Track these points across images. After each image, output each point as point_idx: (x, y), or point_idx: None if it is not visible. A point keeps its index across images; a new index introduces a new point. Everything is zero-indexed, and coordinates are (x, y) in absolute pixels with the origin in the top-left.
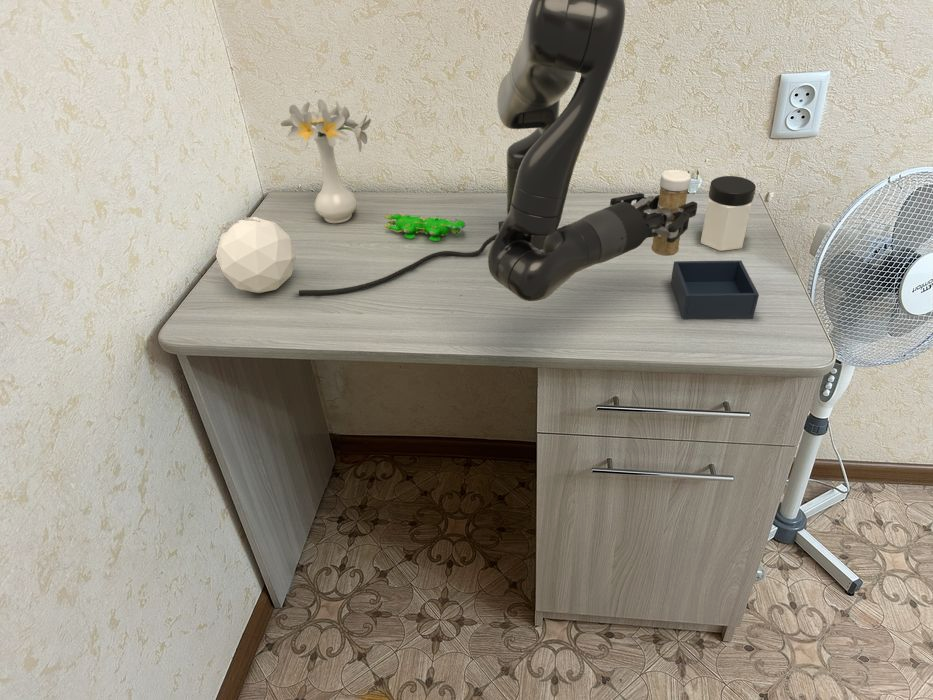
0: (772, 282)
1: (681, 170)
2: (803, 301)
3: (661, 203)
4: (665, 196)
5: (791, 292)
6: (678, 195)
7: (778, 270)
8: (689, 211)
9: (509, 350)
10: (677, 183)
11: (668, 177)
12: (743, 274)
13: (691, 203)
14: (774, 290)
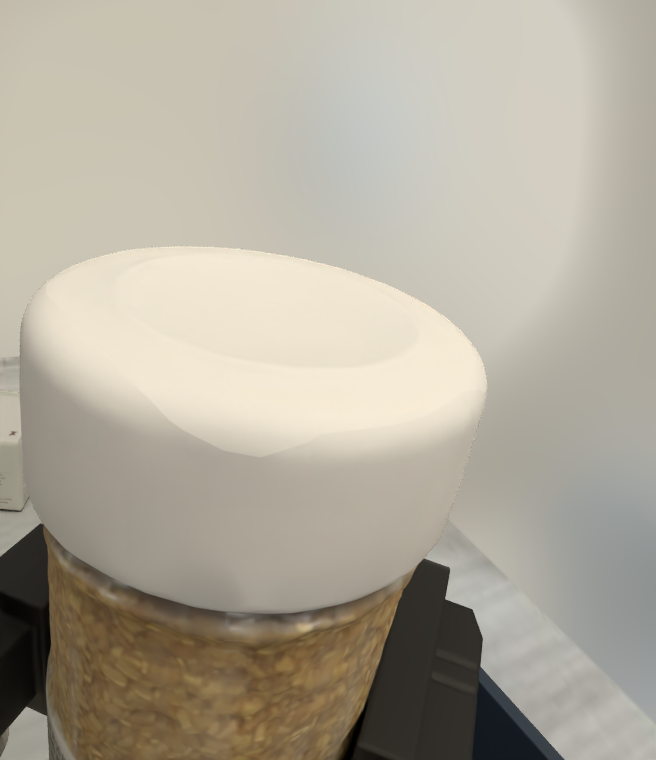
0: (510, 649)
1: (283, 255)
2: (650, 722)
3: (101, 749)
4: (158, 680)
5: (588, 683)
6: (362, 624)
7: (482, 581)
8: (471, 741)
9: None
10: (390, 481)
11: (177, 369)
12: (513, 730)
13: (425, 599)
14: (545, 694)
